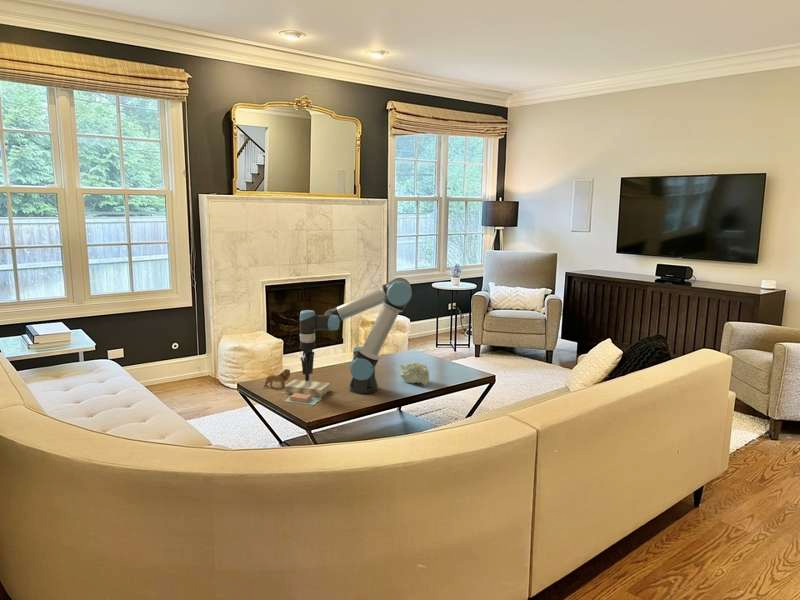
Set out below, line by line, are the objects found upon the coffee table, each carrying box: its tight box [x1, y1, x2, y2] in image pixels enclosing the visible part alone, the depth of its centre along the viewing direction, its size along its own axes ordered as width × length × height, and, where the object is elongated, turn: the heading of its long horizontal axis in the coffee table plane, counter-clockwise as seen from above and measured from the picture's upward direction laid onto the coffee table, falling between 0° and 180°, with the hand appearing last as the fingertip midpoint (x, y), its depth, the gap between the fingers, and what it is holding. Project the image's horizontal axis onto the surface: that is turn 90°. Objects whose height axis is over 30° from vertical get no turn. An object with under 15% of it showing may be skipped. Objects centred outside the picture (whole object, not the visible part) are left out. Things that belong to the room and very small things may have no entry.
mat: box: [283, 396, 323, 406], centre depth 289 cm, size 16×11×1 cm
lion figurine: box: [263, 368, 291, 389], centre depth 308 cm, size 15×5×9 cm, turn 119°
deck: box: [284, 378, 331, 398], centre depth 301 cm, size 20×12×4 cm, turn 75°
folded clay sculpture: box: [399, 361, 430, 387], centre depth 321 cm, size 18×13×16 cm
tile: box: [289, 393, 312, 403], centre depth 289 cm, size 9×6×2 cm, turn 75°
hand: (308, 386), depth 295 cm, fingers closed
